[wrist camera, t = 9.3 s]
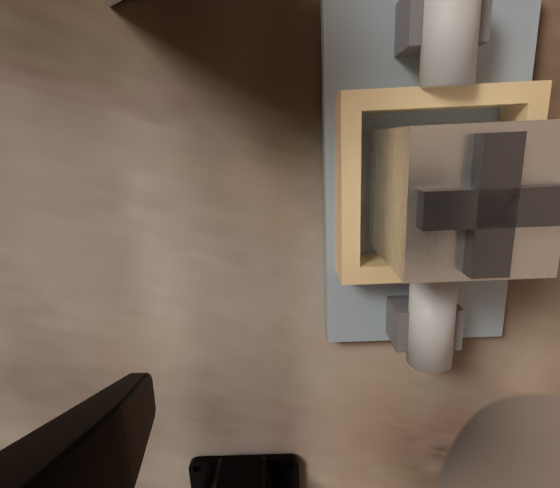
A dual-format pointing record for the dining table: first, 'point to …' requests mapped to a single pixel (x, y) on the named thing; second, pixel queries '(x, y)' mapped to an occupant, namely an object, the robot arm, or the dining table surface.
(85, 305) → the dining table surface
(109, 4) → the ink box
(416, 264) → the block
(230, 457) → the robot arm
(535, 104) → the shaft bench
